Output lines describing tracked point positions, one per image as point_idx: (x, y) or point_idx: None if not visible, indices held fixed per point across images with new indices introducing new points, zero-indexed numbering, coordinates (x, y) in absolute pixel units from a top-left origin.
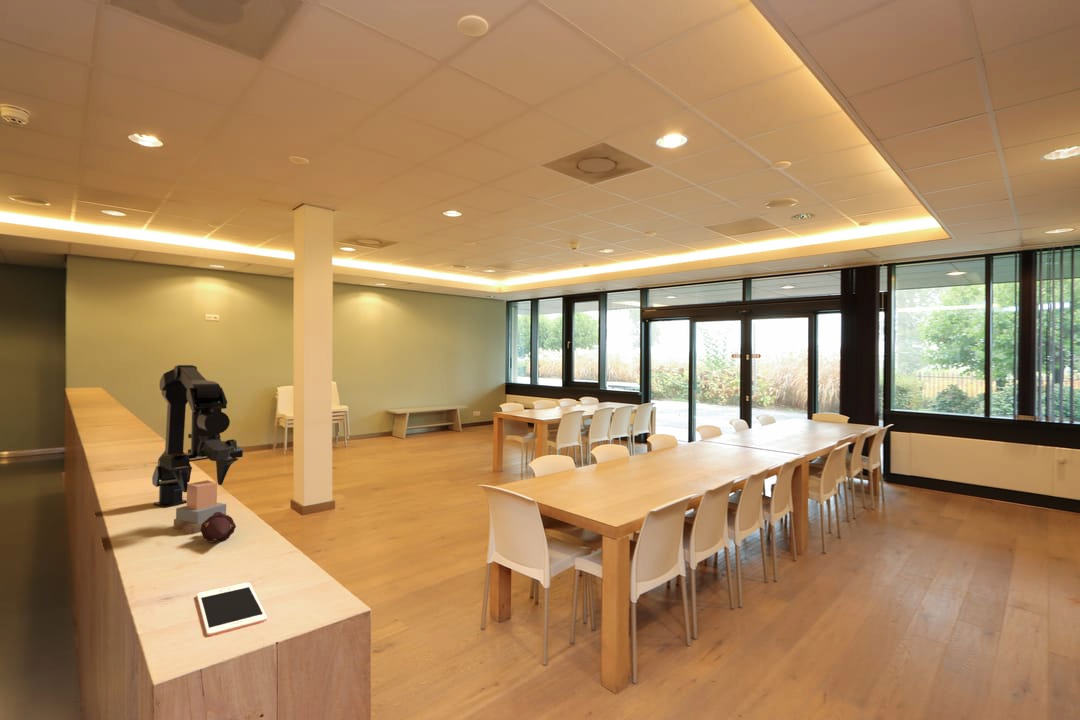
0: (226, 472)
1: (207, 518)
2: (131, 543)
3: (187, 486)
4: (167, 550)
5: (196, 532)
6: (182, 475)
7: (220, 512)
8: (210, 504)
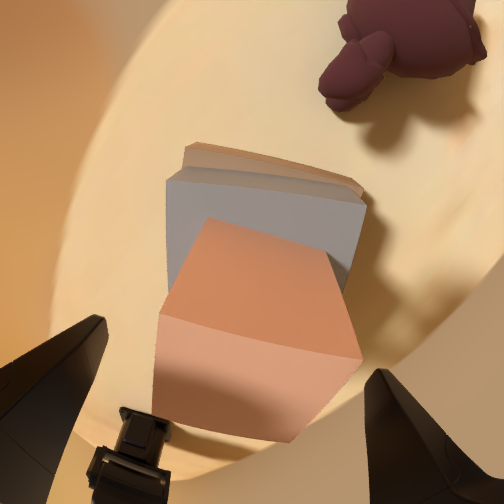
0: (13, 364)
1: (298, 179)
2: (445, 292)
3: (395, 396)
4: (491, 141)
5: (344, 176)
6: (475, 467)
7: (356, 47)
8: (245, 233)
